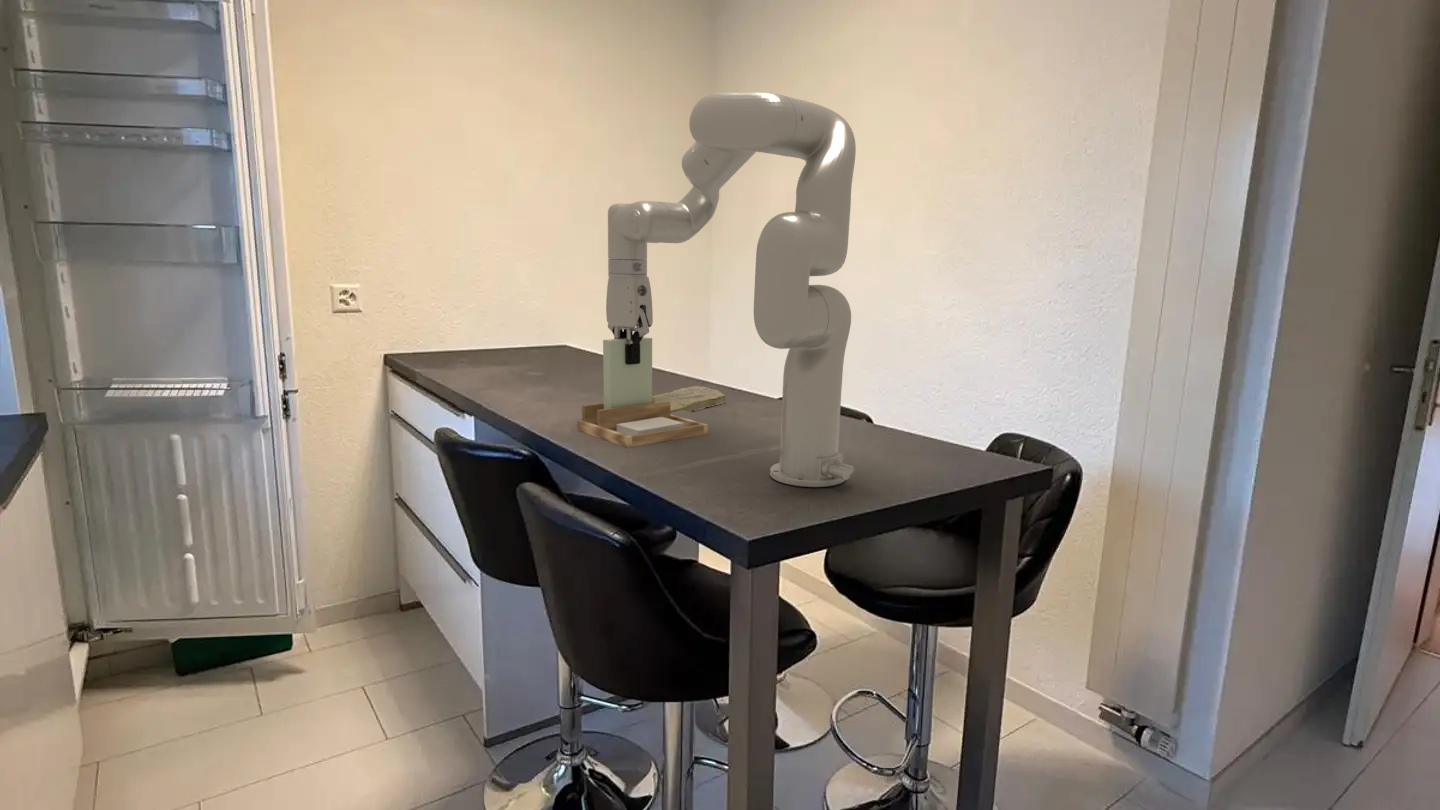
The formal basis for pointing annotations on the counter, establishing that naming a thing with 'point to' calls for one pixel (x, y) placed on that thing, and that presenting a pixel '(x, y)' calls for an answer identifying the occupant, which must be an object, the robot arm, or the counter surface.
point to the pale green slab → (626, 374)
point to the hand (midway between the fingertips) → (628, 362)
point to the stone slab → (691, 398)
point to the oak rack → (606, 420)
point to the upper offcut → (648, 426)
